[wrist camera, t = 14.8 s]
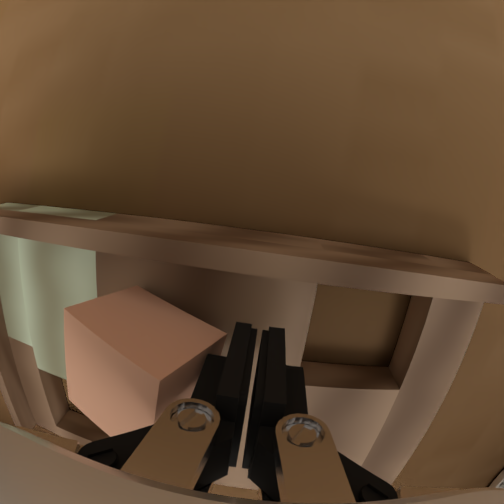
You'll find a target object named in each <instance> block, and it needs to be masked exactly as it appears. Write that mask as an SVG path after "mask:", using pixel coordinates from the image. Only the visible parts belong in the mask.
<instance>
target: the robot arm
mask: <svg viewBox="0 0 504 504" xmlns="http://www.w3.org/2000/svg"><path fill="white" fill-rule="evenodd" d="M256 337H257V329H255V328H252V324H249V323H242V322H236V325H235V328H234V332H233V336H232V339H231V343H230V346H229V350H228V354H227V357H225V356H219V355H213V354H207V356H206V359H205V362H204V364H203V367H202V369H201V372H200V375H199V377H198V380H197V382H196V385H195V388H194V390H193V393H192V396H191V398H185V399H180V400H177V401H175V402H172V403H171V404H170V405H169V406H167V407H166V409H165V410H164V411H163V413H162V414H161V416H160V417H159V418H158V420H157V421H156V422H155V424H153V425H150V426H147V427H144V428H140V429H137V430H134V431H130V432H127V433H123V434H119V435H116V436H112V437H108V438H104V439H100V440H96V441H93V442H90V443H88V444H86V445H80V444H79V441H78V440H73V439H68V438H64V437H59V436H55V435H51V434H47V433H44V432H40V431H36V430H33V429H29V428H26V427H20V426H15V427H14V426H11V425H9V424H6V423H3V422H0V504H504V470H503V471H502V472H501V473H500V474H499V475H498V476H497V477H496V479H495V480H494V481H493V482H492V483H491V485H490V486H489V487H485V488H469V489H460V488H437V487H411V486H400V487H399V489H394V488H393V487H392V486H391V485H390V484H389V483H387V482H386V481H384V480H383V479H381V478H379V477H378V476H376V475H374V474H373V473H371V472H369V471H368V470H366V469H365V468H363V467H361V466H360V465H358V464H357V463H355V462H354V461H352V460H350V459H349V458H347V457H346V456H344V455H343V454H341V453H340V452H338V451H337V449H336V446H335V443H334V440H333V438H332V435H331V432H330V430H329V428H328V427H327V425H326V424H325V423H324V422H323V421H322V420H320V419H318V418H316V417H314V416H311V415H308V408H307V398H306V388H305V378H304V369H303V367H298V366H289V365H286V346H285V328H277V327H270V326H269V330H262V335H261V342H260V348H259V354H258V360H257V366H256V372H255V378H254V384H253V390H252V396H251V404H250V411H249V419H248V426H247V433H246V441H245V448H244V455H243V462H242V468H244V469H248V477H247V478H249V479H250V480H251V481H252V482H253V483H254V484H256V485H257V486H258V487H259V488H258V500H252V499H244V498H236V497H229V496H223V495H217V494H211V491H212V489H213V485H214V481H216V480H219V479H221V478H223V477H225V476H227V475H228V470H229V466H230V467H236V465H237V459H238V453H239V448H240V442H241V436H242V430H243V424H244V418H245V412H246V406H247V400H248V393H249V387H250V380H251V372H252V365H253V358H254V351H255V344H256Z"/></svg>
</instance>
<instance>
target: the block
mask: <svg viewBox="0 0 504 504" xmlns="http://www.w3.org/2000/svg"><path fill="white" fill-rule="evenodd" d="M226 336H227V333H225V332H223V331H221V330H219V329H217V328H215V327H213V326H211V325H209V324H207V323H206V322H204V321H202V320H200V319H198V318H196V317H194V316H192V315H190V314H188V313H186V312H185V311H183V310H181V309H179V308H177V307H175V306H173V305H172V304H170V303H168V302H166V301H164V300H162V299H161V298H159V297H157V296H155V295H153V294H152V293H150V292H148V291H146V290H145V289H143V288H141V287H139V286H138V285H137V286H133V287H130V288H127V289H124V290H121V291H117V292H114V293H111V294H108V295H104V296H101V297H98V298H95V299H92V300H88V301H85V302H82V303H79V304H75V305H72V306H69V307H66V308H64V345H65V363H66V376H67V387H68V396H69V400H70V401H71V402H72V403H73V404H74V405H75V406H76V407H77V408H78V409H79V410H81V411H82V412H83V413H84V414H85V415H86V416H87V417H88V418H89V419H90V420H91V421H93V422H94V423H95V424H96V425H97V426H98V427H99V428H101V429H102V430H103V431H104V432H105V433H106V434H108V435H109V436H110V437H112V436H116V435H119V434H123V433H127V432H130V431H134V430H137V429H140V428H144V427H147V426H150V425H153V424H155V422H156V421H157V420H158V418H159V417H160V416H161V414H162V413H163V411H164V410H165V409H166V407H167V406H169V405H170V404H171V403H172V402H175V401H177V400H180V399H185V398H191V396H192V393H193V390H194V388H195V385H196V382H197V380H198V377H199V375H200V372H201V369H202V367H203V364H204V362H205V359H206V356H207V354H213V355H219V356H221V354H222V350H223V347H224V343H225V340H226Z"/></svg>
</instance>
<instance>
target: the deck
mask: <svg viewBox="0 0 504 504" xmlns="http://www.w3.org/2000/svg"><path fill="white" fill-rule="evenodd" d="M318 284H322V285H330V286H338V287H346V288H355V289H363V290H371V291H380V292H388V293H397V294H406V295H412V296H411V300H410V303H409V307H408V310H407V313H406V317H405V320H404V323H403V326H402V330H401V333H400V336H399V339H398V342H397V345H396V348H395V350H394V353H393V356H392V359H391V362H390V364H389V367H376V366H358V365H343V364H330V363H319V362H308V361H301V360H302V356H303V352H304V347H305V343H306V338H307V334H308V329H309V325H310V320H311V315H312V310H313V306H314V301H315V296H316V290H317V285H318ZM137 285H138V286H139V287H141V288H143V289H145V290H146V291H148V292H150V293H152V294H153V295H155V296H157V297H159V298H161V299H162V300H164V301H166V302H168V303H170V304H172V305H173V306H175V307H177V308H179V309H181V310H183V311H185V312H186V313H188V314H190V315H192V316H194V317H196V318H198V319H200V320H202V321H204V322H206V323H207V324H209V325H211V326H213V327H215V328H217V329H219V330H221V331H223V332H225V333H227V336H226V340H225V343H224V347H223V350H222V354H221V356H225V357H227V354H228V350H229V346H230V343H231V339H232V336H233V332H234V328H235V325H236V322H242V323H249V324H252V328H255V329H257V337H256V344H255V351H254V358H253V365H252V372H251V380H250V387H249V393H248V400H247V406H246V412H245V418H244V424H243V430H242V436H241V442H240V448H239V453H238V459H237V465H236V467H230V466H229V470H228V475H227V476H225V477H223V478H221V479H219V480H216V481H214V484H218V485H224V486H231V487H238V488H245V489H253V490H258V488H259V487H258V486H257V485H256V484H254V483H253V482H252V481H251V480H250V479H249V478H247V477H248V469H244V468H242V462H243V455H244V448H245V441H246V433H247V426H248V419H249V411H250V404H251V396H252V390H253V384H254V378H255V372H256V366H257V360H258V354H259V348H260V342H261V335H262V330H269V326H270V327H277V328H285V346H286V365H289V366H298V367H303V369H304V378H305V388H306V398H307V408H308V415H311V416H314V417H316V418H318V419H320V420H322V421H323V422H324V423H325V424H326V425H327V427H328V428H329V430H330V432H331V435H332V438H333V440H334V443H335V446H336V449H337V451H338V452H340V453H341V454H343V455H344V456H346V457H347V458H349V459H350V460H352V461H354V462H355V463H357V464H358V465H360V466H361V467H363V468H365V469H366V470H368V471H369V472H371V473H373V474H374V475H376V476H378V477H379V478H381V479H383V480H384V481H386V482H387V483H389V484H390V485H391V484H392V483H393V482H394V480H395V479H396V477H397V476H398V475H399V473H400V472H401V470H402V469H403V467H404V466H405V465H406V463H407V462H408V460H409V459H410V457H411V455H412V454H413V452H414V451H415V449H416V448H417V446H418V444H419V443H420V441H421V440H422V438H423V436H424V435H425V433H426V431H427V430H428V428H429V426H430V424H431V423H432V421H433V419H434V417H435V415H436V414H437V412H438V410H439V408H440V406H441V404H442V402H443V400H444V398H445V396H446V394H447V392H448V390H449V388H450V386H451V384H452V382H453V380H454V378H455V376H456V374H457V371H458V369H459V367H460V365H461V362H462V360H463V358H464V355H465V353H466V350H467V348H468V345H469V343H470V340H471V338H472V335H473V333H474V330H475V327H476V324H477V322H478V319H479V316H480V313H481V310H482V307H483V304H484V303H494V304H504V282H503V281H502V280H500V279H498V278H496V277H495V276H493V275H491V274H490V273H488V272H486V271H484V270H483V269H481V268H479V267H477V266H475V265H474V264H472V263H469V262H463V261H457V260H452V259H446V258H440V257H434V256H427V255H421V254H415V253H409V252H403V251H396V250H390V249H383V248H377V247H370V246H364V245H357V244H350V243H344V242H337V241H330V240H323V239H316V238H309V237H302V236H295V235H288V234H280V233H273V232H266V231H258V230H251V229H243V228H235V227H228V226H220V225H212V224H204V223H196V222H188V221H179V220H171V219H162V218H154V217H145V216H136V215H127V214H118V213H109V212H100V211H90V210H81V209H71V208H61V207H50V206H40V205H29V204H18V203H4V204H0V390H1V392H2V395H3V398H4V400H5V403H6V405H7V408H8V410H9V412H10V415H11V417H12V419H13V422H14V424H15V426H20V427H26V428H29V429H33V428H34V426H35V425H36V424H37V425H39V426H41V427H43V428H45V429H47V430H49V431H51V432H53V433H55V434H57V435H59V436H62V437H64V438H68V439H73V440H78V441H79V444H80V445H86V444H88V443H90V442H93V441H96V440H100V439H104V438H108V437H110V436H109V435H108V434H106V433H105V432H104V431H103V430H102V429H101V428H99V427H98V426H97V425H96V424H95V423H94V422H93V421H91V420H90V419H89V418H88V417H87V416H85V415H82V414H80V413H77V412H75V411H72V410H70V409H69V406H68V402H67V399H66V395H65V391H64V387H63V383H62V379H61V378H63V379H66V380H67V376H66V363H65V345H64V308H66V307H69V306H72V305H75V304H79V303H82V302H85V301H88V300H92V299H95V298H98V297H101V296H104V295H108V294H111V293H114V292H117V291H121V290H124V289H127V288H130V287H133V286H137Z"/></svg>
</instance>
